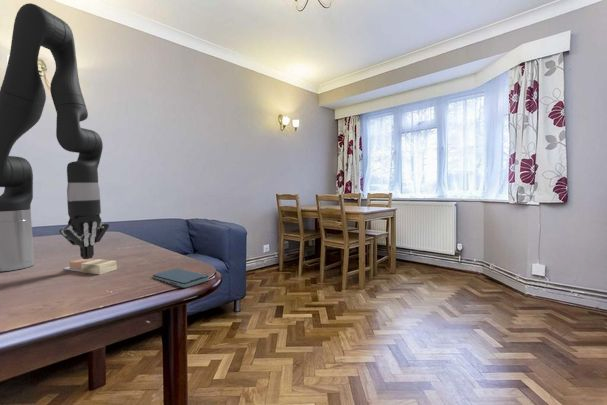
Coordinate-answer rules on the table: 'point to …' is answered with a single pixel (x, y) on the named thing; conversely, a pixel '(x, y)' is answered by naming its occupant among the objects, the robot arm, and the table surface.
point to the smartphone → (181, 277)
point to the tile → (78, 263)
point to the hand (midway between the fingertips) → (87, 258)
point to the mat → (71, 269)
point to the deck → (98, 266)
